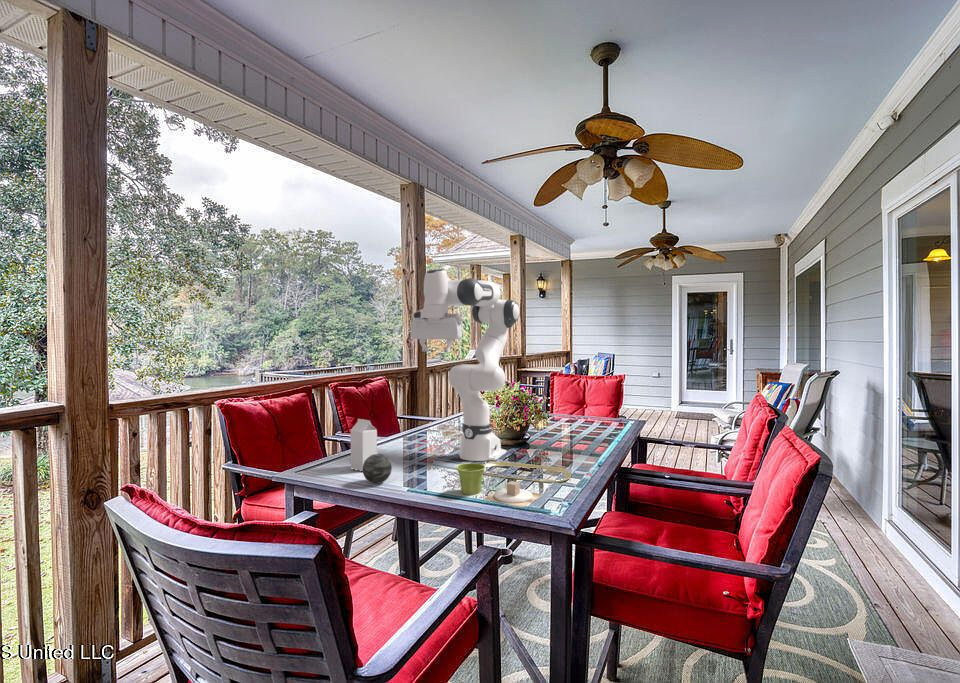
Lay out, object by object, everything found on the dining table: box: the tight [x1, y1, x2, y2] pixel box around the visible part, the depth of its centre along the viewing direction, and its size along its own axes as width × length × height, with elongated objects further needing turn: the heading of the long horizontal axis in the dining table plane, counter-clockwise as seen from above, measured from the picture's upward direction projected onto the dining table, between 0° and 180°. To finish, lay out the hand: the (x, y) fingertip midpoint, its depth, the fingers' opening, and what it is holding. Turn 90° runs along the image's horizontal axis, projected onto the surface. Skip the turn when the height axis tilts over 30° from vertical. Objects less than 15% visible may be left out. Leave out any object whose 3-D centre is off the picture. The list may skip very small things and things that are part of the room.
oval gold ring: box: [482, 461, 572, 484], centre depth 180 cm, size 19×35×2 cm, turn 67°
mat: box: [482, 486, 544, 509], centre depth 153 cm, size 14×14×1 cm
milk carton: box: [350, 418, 378, 472], centre depth 187 cm, size 7×7×19 cm
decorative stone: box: [362, 453, 393, 484], centre depth 169 cm, size 10×10×10 cm
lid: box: [493, 480, 532, 503], centre depth 153 cm, size 12×12×4 cm
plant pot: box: [456, 462, 486, 496], centre depth 158 cm, size 9×9×9 cm
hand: (436, 351), depth 176 cm, fingers open, 8 cm apart
